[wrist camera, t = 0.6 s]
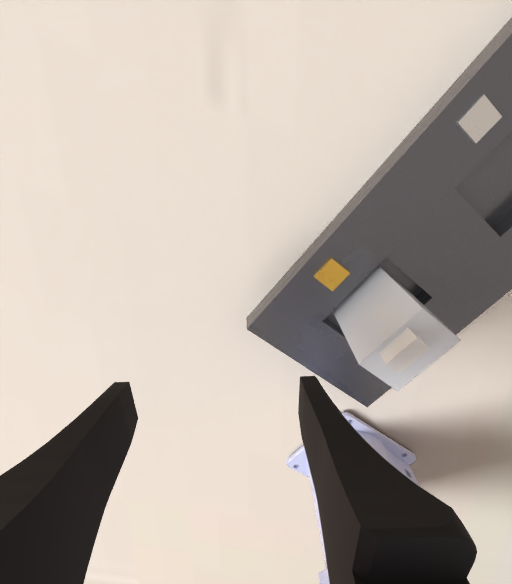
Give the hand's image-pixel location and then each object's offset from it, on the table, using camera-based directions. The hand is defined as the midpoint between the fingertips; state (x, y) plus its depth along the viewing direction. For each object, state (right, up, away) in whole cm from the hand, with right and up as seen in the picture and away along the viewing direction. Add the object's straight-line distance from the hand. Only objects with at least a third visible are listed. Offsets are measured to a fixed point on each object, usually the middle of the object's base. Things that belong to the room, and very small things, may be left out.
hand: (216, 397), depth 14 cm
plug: (+10, +4, +9) cm, 14 cm away
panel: (+13, +8, +8) cm, 17 cm away
